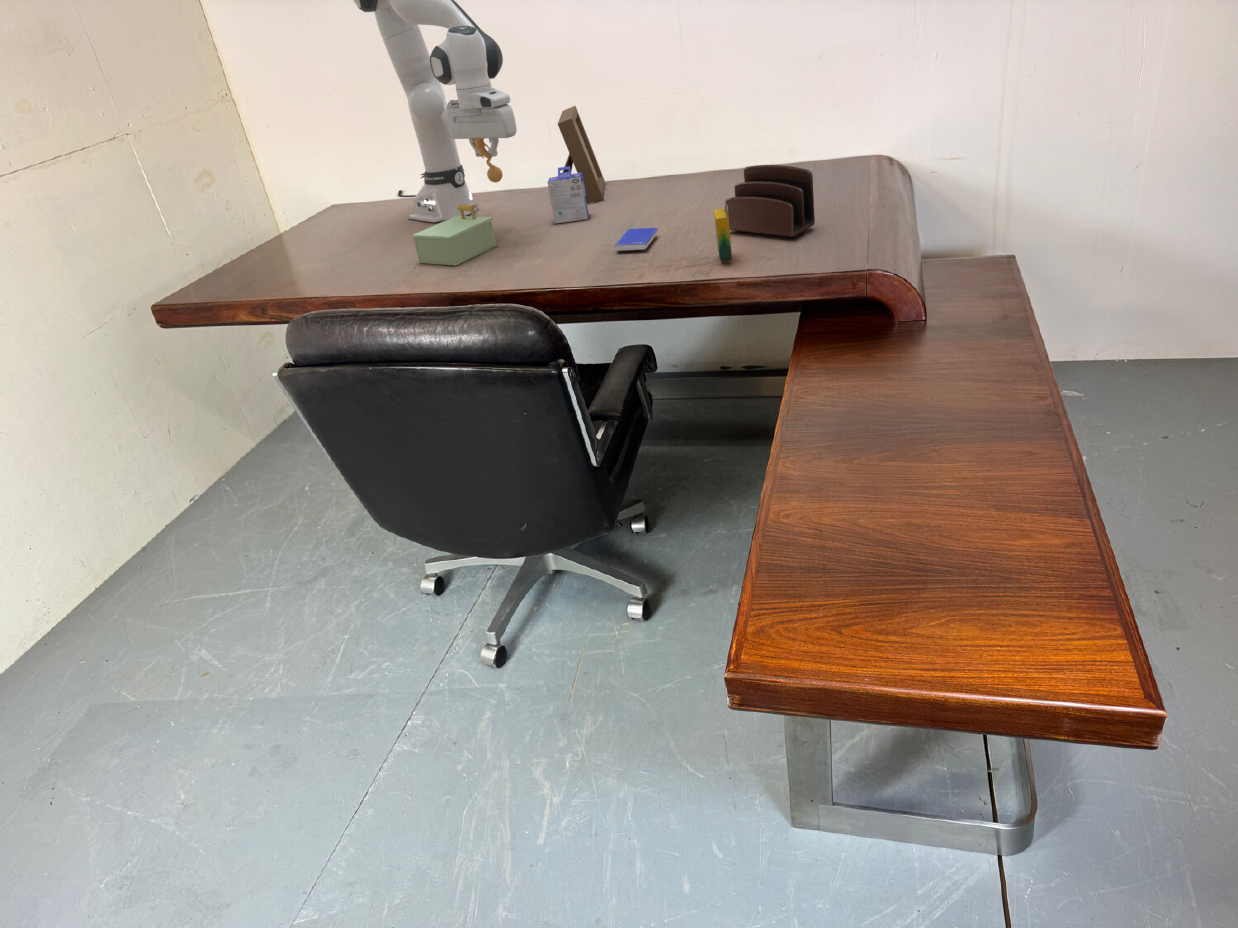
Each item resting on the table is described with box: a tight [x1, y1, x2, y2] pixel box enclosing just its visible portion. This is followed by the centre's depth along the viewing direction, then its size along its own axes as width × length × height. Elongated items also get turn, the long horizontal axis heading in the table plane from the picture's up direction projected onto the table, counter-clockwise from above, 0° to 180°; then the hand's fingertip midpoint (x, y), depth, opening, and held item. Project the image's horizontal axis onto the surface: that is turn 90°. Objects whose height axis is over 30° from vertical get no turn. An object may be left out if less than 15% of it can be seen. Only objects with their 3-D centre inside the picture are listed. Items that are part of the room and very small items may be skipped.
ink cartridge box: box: [547, 166, 590, 224], centre depth 240 cm, size 10×6×14 cm, turn 89°
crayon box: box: [713, 200, 733, 261], centre depth 193 cm, size 7×3×12 cm, turn 178°
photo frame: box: [557, 105, 606, 204], centre depth 260 cm, size 15×22×25 cm
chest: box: [412, 221, 497, 266], centre depth 228 cm, size 17×14×7 cm
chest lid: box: [412, 205, 494, 240], centre depth 225 cm, size 17×14×5 cm
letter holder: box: [724, 164, 816, 238], centre depth 205 cm, size 10×20×14 cm, turn 48°
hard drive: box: [614, 227, 659, 251], centre depth 214 cm, size 2×8×12 cm
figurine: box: [474, 138, 503, 183], centre depth 217 cm, size 8×6×12 cm
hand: (487, 156), depth 217 cm, fingers closed on figurine, 3 cm apart
